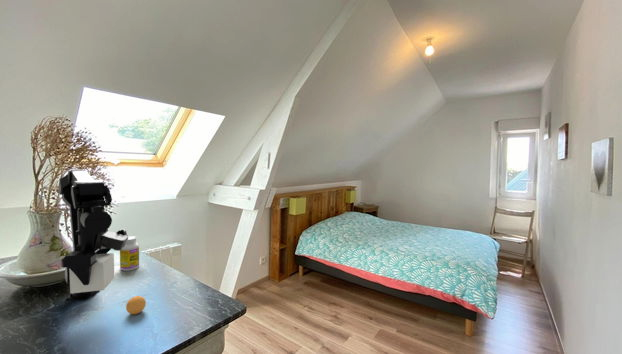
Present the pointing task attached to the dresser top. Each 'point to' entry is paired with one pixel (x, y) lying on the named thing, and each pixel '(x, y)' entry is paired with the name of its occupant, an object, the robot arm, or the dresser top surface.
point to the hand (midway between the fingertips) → (93, 278)
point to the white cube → (95, 275)
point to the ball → (135, 305)
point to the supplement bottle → (129, 255)
